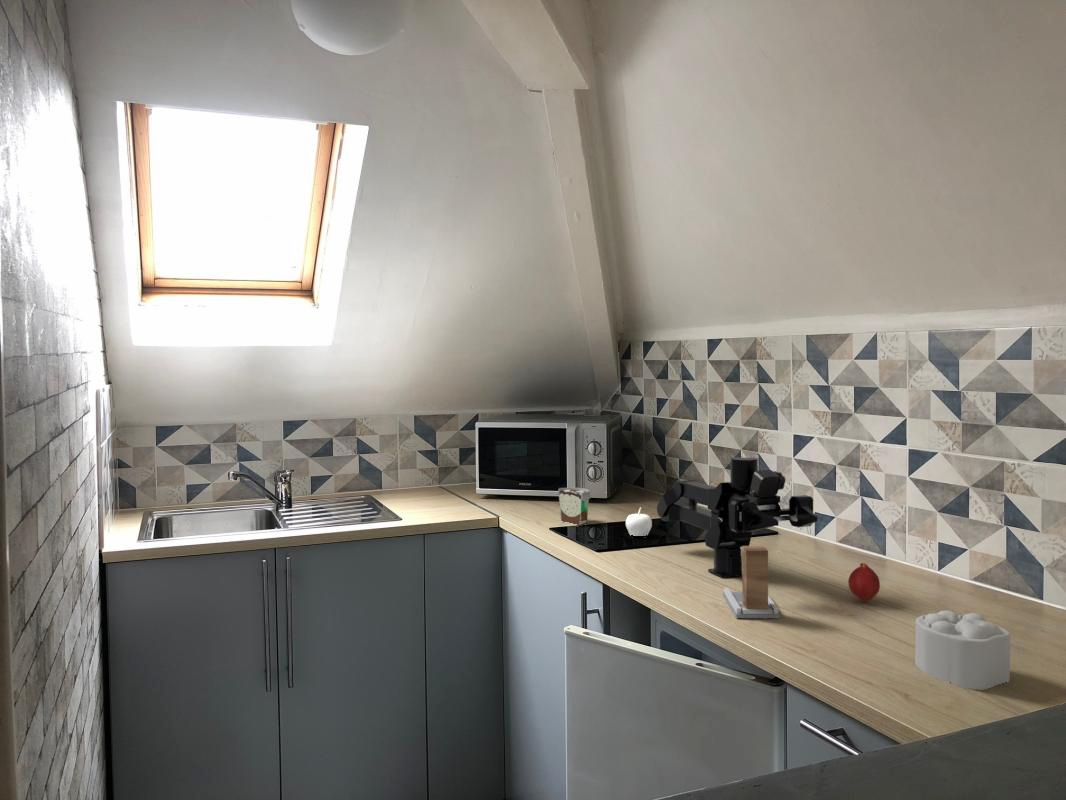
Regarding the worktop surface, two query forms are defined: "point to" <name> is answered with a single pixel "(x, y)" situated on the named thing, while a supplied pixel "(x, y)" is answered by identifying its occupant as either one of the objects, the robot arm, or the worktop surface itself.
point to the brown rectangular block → (755, 581)
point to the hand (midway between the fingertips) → (796, 520)
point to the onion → (864, 583)
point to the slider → (733, 600)
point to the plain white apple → (638, 524)
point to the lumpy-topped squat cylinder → (962, 649)
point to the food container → (574, 505)
